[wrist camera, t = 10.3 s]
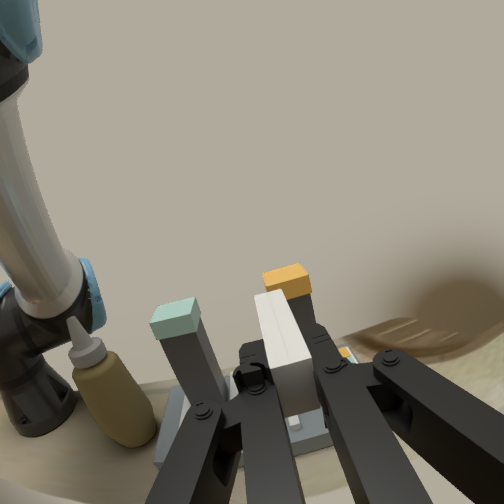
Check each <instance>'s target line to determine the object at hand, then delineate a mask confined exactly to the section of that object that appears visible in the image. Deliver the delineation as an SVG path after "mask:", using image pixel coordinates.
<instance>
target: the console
mask: <svg viewBox="0 0 504 504" xmlns="http://www.w3.org/2000/svg"><path fill="white" fill-rule="evenodd" d="M337 349H338V350H339V352H340V354H341V355H342V357H345V358H347V359H348V360H349V361H350V362H351V363H357V364H358V363H360V362H359V360H358V359H357V357H356V356H355V354H354V353H353V351H352V350H351V348H350V347H349V345H348V344H347V343H346V344H343V345H340V346H337ZM232 375H233V371H231V372H230V376H226V377H224V379H225V382H226V384H227V387H228V401H229V400H231V399H233V398H234V397H235V396H237V394H238V393H239V392H238V390H237V387H236V384H235V382H234V379H233V377H232ZM190 407H191V404H190V403H189V401H188V399H187V397H186V395H185V393H184V391H183V389H182V387H181V385H179V386H173V387H171V389H170V393H169V397H168V400H167V404H166V408H165V412H164V416H163V421H162V425H161V429H160V433H159V437H158V441H157V446H156V450H155V455H154V459H153V463H154V465H155V466H156V467H157V468H158V469H159V470H160V469H161V467H162V465H163V462H164V460H165V458H166V456H167V454H168V452H169V449H170V447H171V445H172V443H173V441H174V438H175V436H176V434H177V432H178V430H179V427H180V425H181V423H182V421H183V419H184V417H185V414H186V412H187V411H188V409H189V408H190ZM320 407H321V405H320ZM285 422H286V425H287V429H288V433H289V437H290V441H291V445H292V449H293V453H294V456H297V455H301V454H304V453H308V452H312V451H315V450H319V449H322V448H325V447H329V446H332V445H334V444H333V441H332V439H331V436H330V433H329V431H328V428H326V429H325V424H324V417H323V411H322V407H321V408H320V409H316V410H313V411H310V412H306V413H303V414H299V415H295V416H291V417H288V418H285ZM238 467H244V459H243V450H241V457H240V461H239V465H238Z"/></svg>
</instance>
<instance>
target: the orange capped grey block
mask: <svg viewBox="0 0 504 504" xmlns="http://www.w3.org/2000/svg"><path fill="white" fill-rule="evenodd" d="M262 276H263V280H264V284H265V287H266V290H267V292H270V291H274V290H278V289H282V292H283V294H284V296H285V298H286V301H287V303H288V305H289V307H290V310H291V312H292V314H293V316H294V318H295V321H296V323H297V325H298V327H299V328H302V327H306V326H309V325H313V324H316V321H315V315H314V310H313V305H312V300H311V296H310V293H312V289H311V284H310V280H309V275H308V273H307V272H306V271H305V270H304V268H303V267H302V266H301V264H300V263H297V264H293V265H290V266H286V267H282V268H279V269H275V270H272V271H268V272H264V273H262Z"/></svg>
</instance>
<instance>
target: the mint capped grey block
mask: <svg viewBox="0 0 504 504" xmlns="http://www.w3.org/2000/svg"><path fill="white" fill-rule="evenodd" d="M200 314H201V311H200V308H199V306H198V303H197V300H196V297H192V298H188V299H184V300H180V301H176V302H172V303H168V304H164V305H159V306H158V308H157V310H156V312H155V313H154V315H153V317H152V319H151V321H150V323H149V324H150V327H151V329H152V331H153V333H154V336H155V338H156V340H159V341H160V343H161V345H162V348H163V350H164V352H165V354H166V356H167V358H168V360H169V363H170V364H171V367H172V369H173V371H174V373H175V375H176V377H177V379H178V381H179V383H180V385H181V387H182V389H183V391H184V393H185V395H186V397H187V399H188V401H189V403H190V404H191V406H192V405H194V404H195V403H198V402H200V401H204V400H212V401H215V402H217V403H219V405H221V404H223V403H225V402H227V401H228V387H227V384H226V382H225V379H224V377H223V374H222V372H221V369H220V367H219V365H218V362H217V360H216V357H215V354H214V352H213V349H212V347H211V344H210V342H209V339H208V336H207V334H206V331H205V329H204V326H203V323H202V320H201V318H200Z"/></svg>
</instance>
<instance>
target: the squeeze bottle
mask: <svg viewBox="0 0 504 504" xmlns="http://www.w3.org/2000/svg"><path fill="white" fill-rule="evenodd" d="M66 321H67V325H68V329H69V333H70V337H71V340H72V344H73V347H72V348H71V349H70V351H69V353H68V356H69V358H70V360H71V362H72V363H73V365H74V366H75V368H74V370H73V372H72V378H73V380H74V382H75V384H76V386H77V388H78V390H79V392H80V394H81V396H82V398H83V400H84V402H85V403H86V405H87V407H88V409H89V411H90V413H91V414H92V416H93V418H94V420H95V421H96V423H97V425H98V427H99V428H100V429H101V431H102V432H103V433H104V434H106V435H107V436H109V437H110V438H112V439H113V440H115V441H116V442H118V443H120V444H121V445H123V446H125V447H129V448H132V447H139V446H141V445H143V444H145V443H147V442H148V441H149V440H150V439H152V437H153V435H154V434H155V431H156V424H155V419H154V414H153V408H152V405H151V403H150V401H149V399H148V398H147V397H146V395H145V394H144V393H143V391H142V390H141V389H140V387H139V386H138V384H137V383H136V382H135V380H134V379H133V378H132V376H131V374H130V373H129V371H128V370H127V369H126V367H125V366H124V364H123V363H122V361H121V360H120V358H119V356H118V355H117V354H116V353H114V352H112V351H107V350H106V347H105V345H104V343H103V342H102V339H100V338H98V337H92V338H91V337H90V336H89V335H88V333H87V332H86V331H85V329H84V328H83V327H82V325H81V324H80V322H79V321H78V320H77V318H76V317H75V316H71V317H69V318H68V319H67V320H66Z"/></svg>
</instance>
